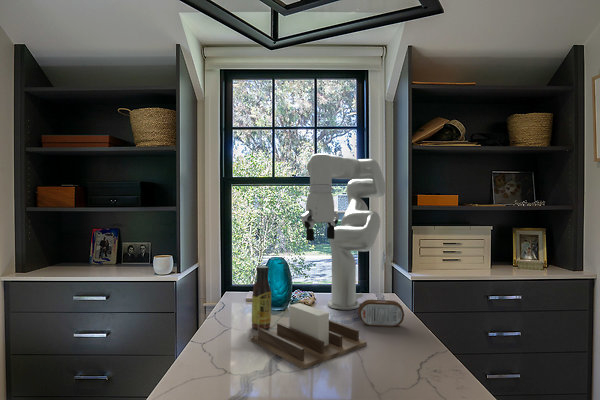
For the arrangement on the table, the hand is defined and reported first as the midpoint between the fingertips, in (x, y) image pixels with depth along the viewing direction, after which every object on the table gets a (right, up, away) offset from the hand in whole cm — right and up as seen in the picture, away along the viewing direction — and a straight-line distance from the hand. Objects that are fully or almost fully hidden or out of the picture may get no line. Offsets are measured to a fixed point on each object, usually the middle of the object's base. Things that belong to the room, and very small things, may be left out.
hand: (320, 239), depth 129 cm
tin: (+20, -29, -4) cm, 35 cm away
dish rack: (-5, -28, -19) cm, 35 cm away
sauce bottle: (-20, -29, -6) cm, 35 cm away
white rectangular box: (-5, -27, -19) cm, 34 cm away
